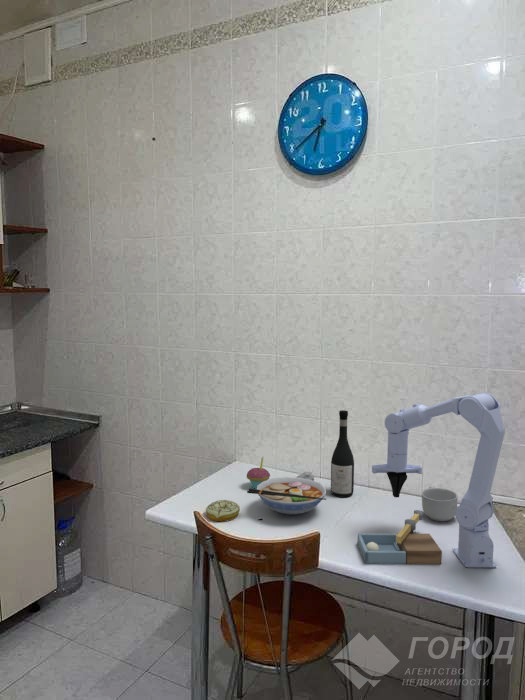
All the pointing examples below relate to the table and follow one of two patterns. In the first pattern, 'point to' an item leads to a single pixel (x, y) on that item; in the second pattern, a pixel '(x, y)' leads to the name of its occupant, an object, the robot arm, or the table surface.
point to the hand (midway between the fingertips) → (395, 496)
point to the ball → (372, 546)
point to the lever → (409, 526)
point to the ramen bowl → (290, 494)
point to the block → (420, 549)
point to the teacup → (439, 503)
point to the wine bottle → (342, 462)
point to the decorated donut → (222, 510)
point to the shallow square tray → (381, 549)
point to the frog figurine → (306, 476)
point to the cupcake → (257, 475)
